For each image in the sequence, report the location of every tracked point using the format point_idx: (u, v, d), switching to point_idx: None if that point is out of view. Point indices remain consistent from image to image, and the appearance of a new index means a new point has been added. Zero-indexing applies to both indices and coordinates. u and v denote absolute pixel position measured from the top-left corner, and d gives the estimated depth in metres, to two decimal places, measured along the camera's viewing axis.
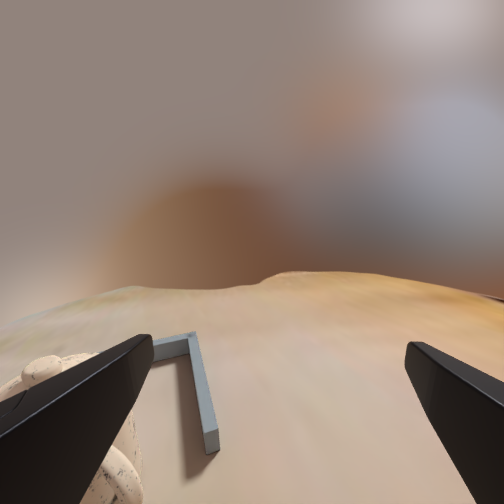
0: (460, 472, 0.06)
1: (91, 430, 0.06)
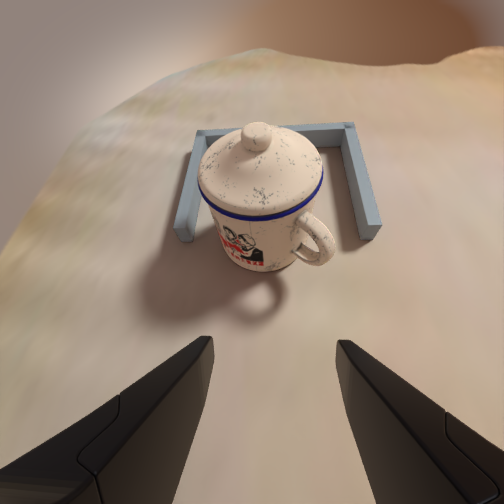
0: (364, 465, 0.06)
1: (177, 436, 0.06)
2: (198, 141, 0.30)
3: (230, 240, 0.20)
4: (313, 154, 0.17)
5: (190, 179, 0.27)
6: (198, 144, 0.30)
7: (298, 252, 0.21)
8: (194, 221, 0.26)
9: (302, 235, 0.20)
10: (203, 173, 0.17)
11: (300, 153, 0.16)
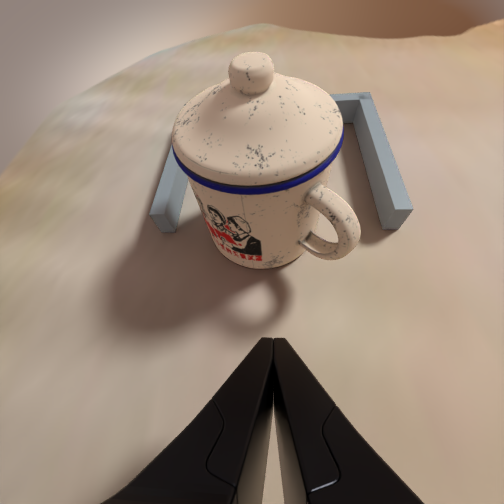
0: None
1: (264, 442, 0.06)
2: None
3: (217, 226, 0.15)
4: (330, 105, 0.12)
5: (174, 157, 0.22)
6: None
7: (306, 243, 0.16)
8: (178, 208, 0.21)
9: (312, 221, 0.15)
10: (178, 131, 0.12)
11: (313, 101, 0.12)
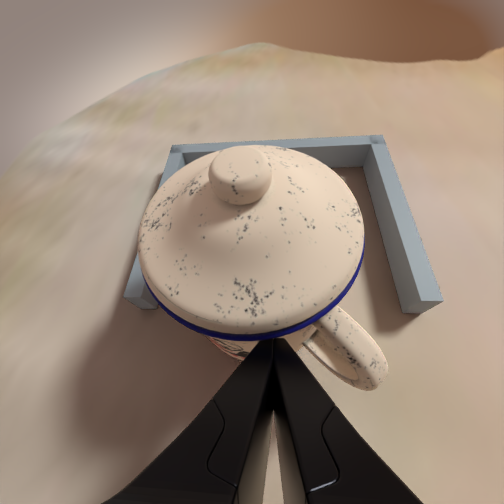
0: None
1: (264, 442, 0.06)
2: (172, 160, 0.22)
3: None
4: (347, 202, 0.09)
5: None
6: (172, 164, 0.22)
7: (313, 343, 0.13)
8: None
9: None
10: (145, 237, 0.09)
11: (324, 202, 0.09)
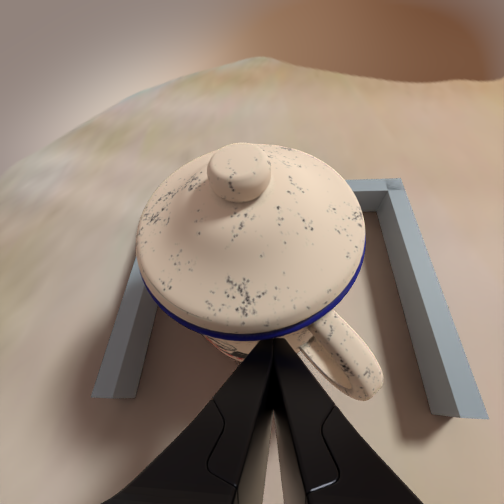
0: None
1: (264, 442, 0.06)
2: None
3: None
4: (349, 205, 0.09)
5: (136, 282, 0.16)
6: None
7: (310, 348, 0.13)
8: (141, 357, 0.15)
9: None
10: (143, 230, 0.09)
11: (325, 204, 0.09)
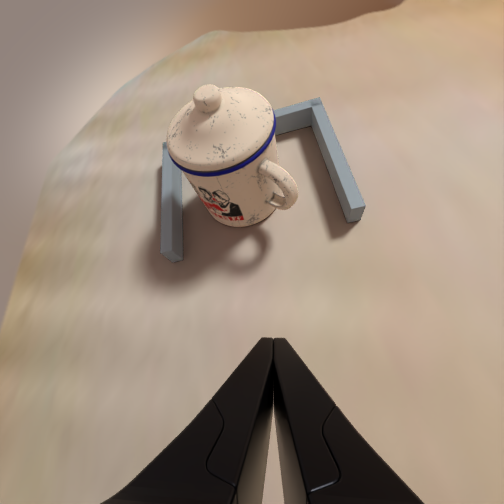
0: (279, 458, 0.06)
1: (264, 442, 0.06)
2: (166, 154, 0.29)
3: (208, 200, 0.22)
4: (263, 106, 0.18)
5: (166, 197, 0.26)
6: (167, 158, 0.29)
7: (272, 201, 0.23)
8: (180, 239, 0.26)
9: (272, 185, 0.22)
10: (170, 142, 0.19)
11: (251, 107, 0.18)
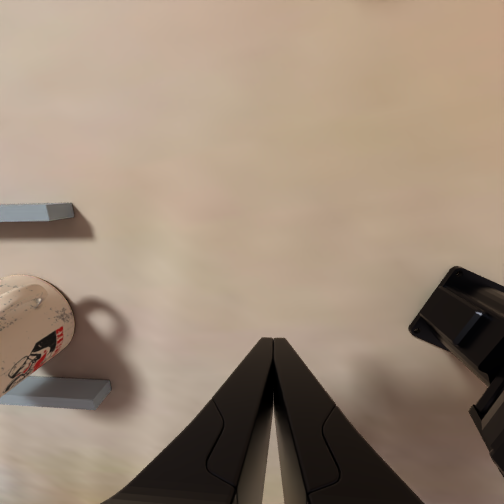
0: None
1: (264, 442, 0.06)
2: None
3: (28, 373, 0.20)
4: None
5: (31, 401, 0.24)
6: None
7: (38, 298, 0.21)
8: (85, 383, 0.25)
9: None
10: None
11: None
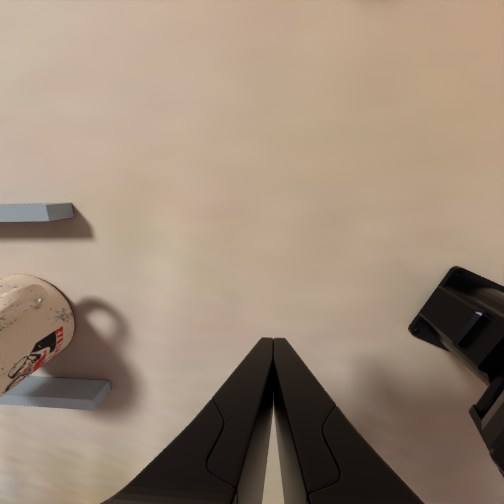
0: None
1: (264, 442, 0.06)
2: None
3: (28, 373, 0.20)
4: None
5: (31, 401, 0.24)
6: None
7: (38, 298, 0.21)
8: (85, 383, 0.25)
9: None
10: None
11: None
